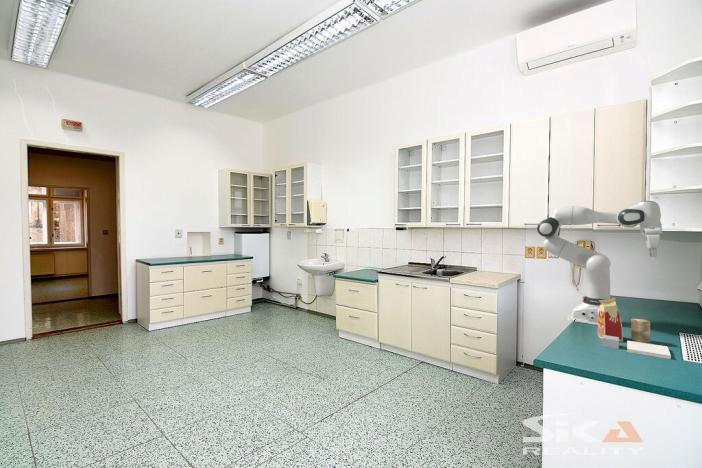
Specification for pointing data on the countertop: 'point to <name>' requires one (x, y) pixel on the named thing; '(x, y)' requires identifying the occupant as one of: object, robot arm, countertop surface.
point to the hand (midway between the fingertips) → (653, 256)
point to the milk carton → (609, 319)
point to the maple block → (640, 330)
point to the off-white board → (648, 349)
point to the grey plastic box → (610, 341)
